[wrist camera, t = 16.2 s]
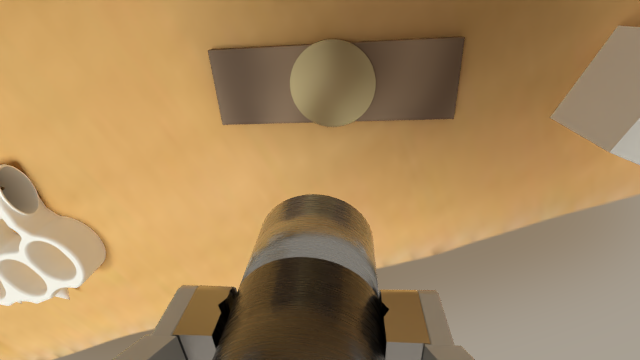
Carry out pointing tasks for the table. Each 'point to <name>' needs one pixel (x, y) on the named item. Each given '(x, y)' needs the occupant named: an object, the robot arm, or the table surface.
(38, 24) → the table surface
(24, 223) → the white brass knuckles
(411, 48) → the strip
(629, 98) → the white cube
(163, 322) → the robot arm
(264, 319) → the bottle with black cap
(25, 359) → the table surface
